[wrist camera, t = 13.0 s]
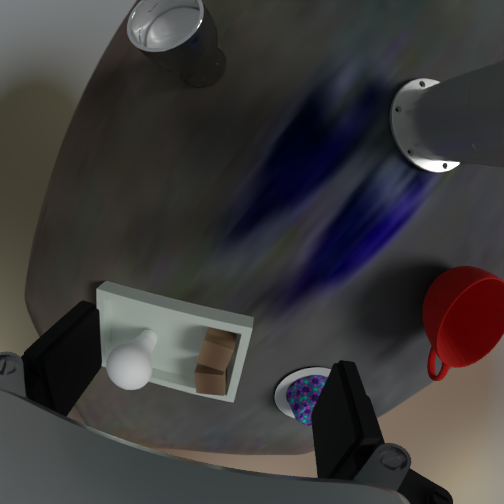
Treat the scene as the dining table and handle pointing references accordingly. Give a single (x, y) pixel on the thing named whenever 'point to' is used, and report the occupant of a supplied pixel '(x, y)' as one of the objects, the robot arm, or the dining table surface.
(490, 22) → the dining table surface
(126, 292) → the tray
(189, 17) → the beer glass
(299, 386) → the pudding
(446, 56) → the dining table surface
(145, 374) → the lightbulb
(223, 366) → the walnut block
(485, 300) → the ceramic cup
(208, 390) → the walnut block
